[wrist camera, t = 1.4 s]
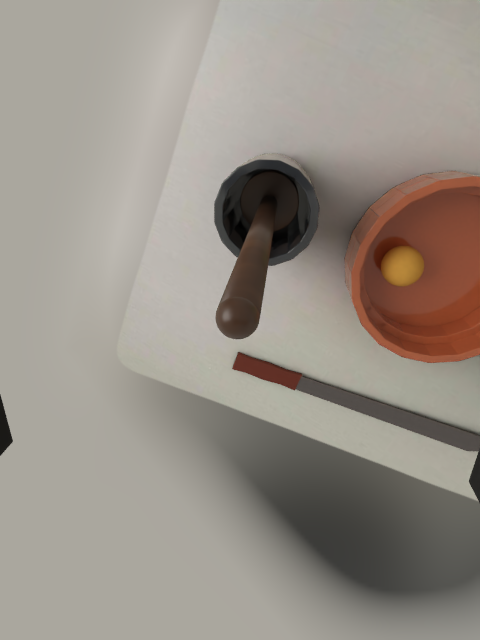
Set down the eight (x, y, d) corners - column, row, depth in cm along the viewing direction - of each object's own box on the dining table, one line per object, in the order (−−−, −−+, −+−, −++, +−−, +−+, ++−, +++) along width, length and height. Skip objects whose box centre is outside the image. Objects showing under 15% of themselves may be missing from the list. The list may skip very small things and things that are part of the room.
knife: (494, 457, 53) (497, 461, 52) (232, 368, 51) (231, 370, 51) (506, 443, 52) (509, 446, 51) (238, 351, 50) (238, 353, 50)
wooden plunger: (231, 197, 42) (124, 318, 15) (272, 156, 40) (237, 210, 13) (268, 238, 44) (232, 419, 16) (310, 200, 42) (350, 334, 14)
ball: (369, 259, 44) (376, 270, 40) (402, 233, 42) (413, 242, 38) (392, 286, 44) (401, 300, 41) (425, 262, 43) (438, 274, 39)
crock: (213, 195, 43) (193, 212, 34) (274, 134, 40) (269, 134, 31) (267, 254, 45) (262, 284, 36) (329, 200, 42) (340, 218, 33)
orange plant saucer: (310, 253, 45) (313, 270, 39) (459, 129, 39) (487, 129, 33) (407, 363, 49) (422, 392, 43) (556, 267, 43) (595, 287, 37)
